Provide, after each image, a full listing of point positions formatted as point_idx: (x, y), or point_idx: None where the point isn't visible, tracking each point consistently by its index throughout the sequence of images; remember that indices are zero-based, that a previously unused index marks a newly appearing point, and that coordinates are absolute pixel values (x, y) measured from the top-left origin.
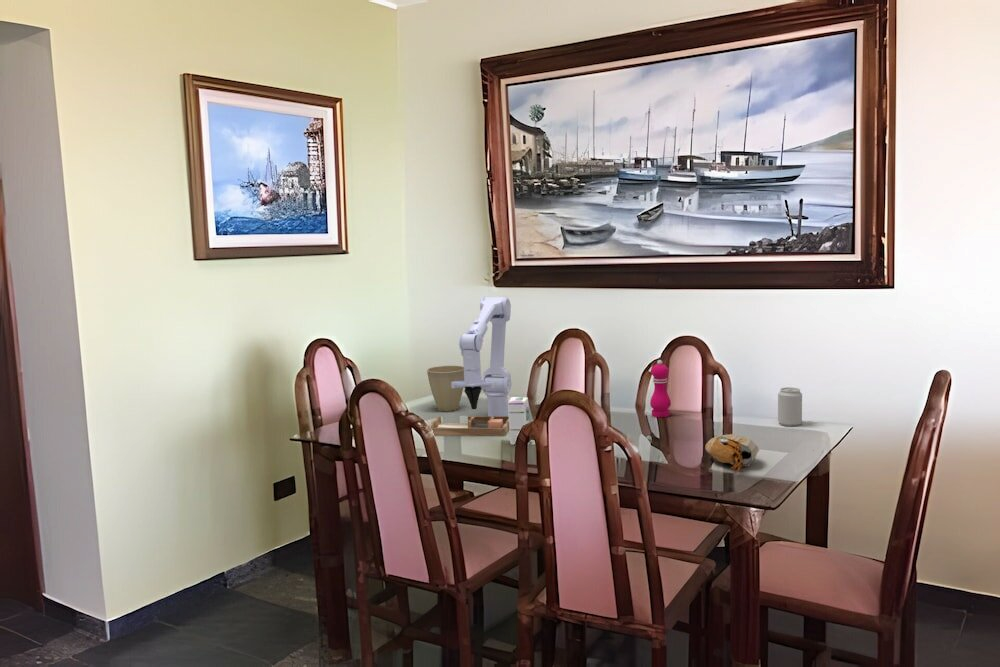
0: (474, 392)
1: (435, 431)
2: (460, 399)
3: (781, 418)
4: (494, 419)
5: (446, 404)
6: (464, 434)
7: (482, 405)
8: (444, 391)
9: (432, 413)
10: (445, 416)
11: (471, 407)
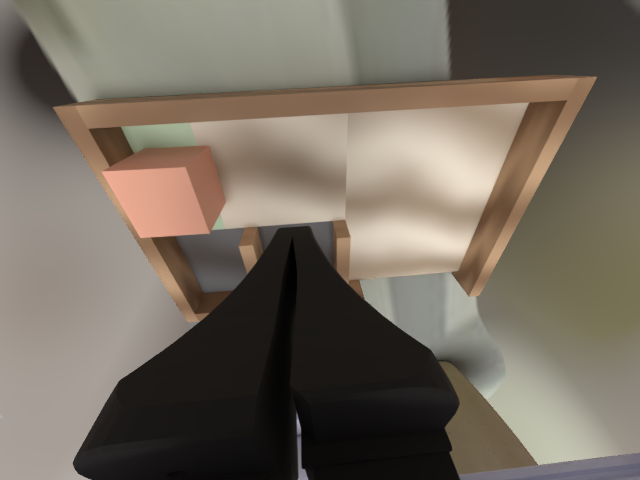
0: (219, 367)
1: (519, 79)
2: None
3: None
4: (184, 227)
5: None
6: (334, 87)
7: None
8: (470, 422)
9: (471, 348)
10: (437, 334)
11: (311, 231)
